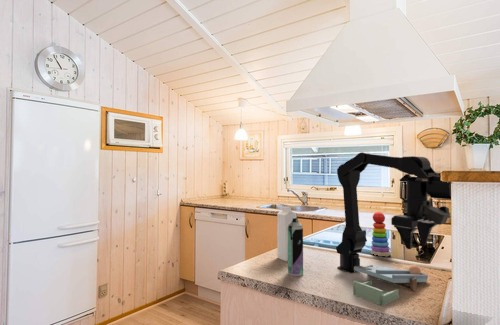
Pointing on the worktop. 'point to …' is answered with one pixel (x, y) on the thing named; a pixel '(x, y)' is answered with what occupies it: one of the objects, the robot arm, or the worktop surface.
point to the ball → (414, 270)
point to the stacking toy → (379, 236)
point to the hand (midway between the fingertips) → (416, 246)
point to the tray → (374, 293)
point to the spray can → (295, 248)
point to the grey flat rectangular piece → (391, 274)
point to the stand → (411, 287)
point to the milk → (283, 231)
